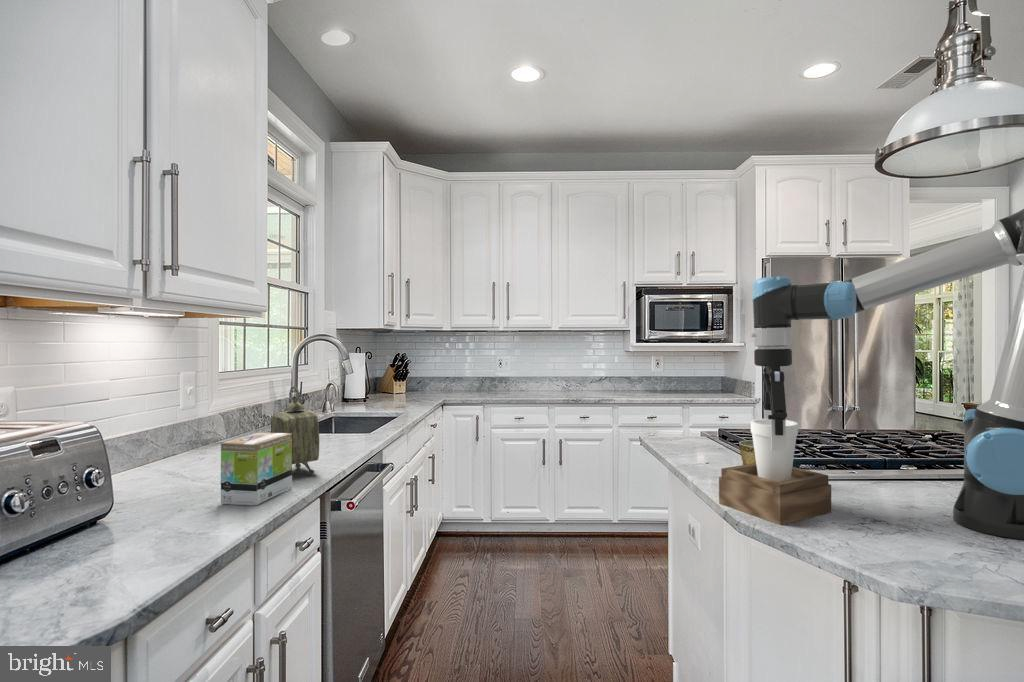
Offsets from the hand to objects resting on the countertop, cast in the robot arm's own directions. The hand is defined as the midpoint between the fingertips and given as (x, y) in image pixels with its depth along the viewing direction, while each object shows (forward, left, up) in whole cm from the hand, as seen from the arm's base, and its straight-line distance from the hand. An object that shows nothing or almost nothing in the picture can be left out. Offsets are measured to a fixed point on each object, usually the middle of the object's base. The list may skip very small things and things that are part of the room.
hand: (774, 444), depth 123 cm
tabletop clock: (+85, +92, -14) cm, 126 cm away
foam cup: (0, 0, -8) cm, 8 cm away
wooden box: (0, 0, -14) cm, 14 cm away
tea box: (+66, +102, -14) cm, 123 cm away
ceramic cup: (+16, -16, -14) cm, 27 cm away
